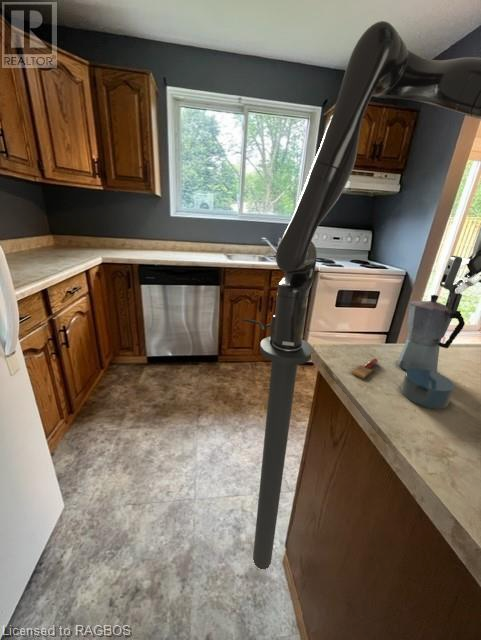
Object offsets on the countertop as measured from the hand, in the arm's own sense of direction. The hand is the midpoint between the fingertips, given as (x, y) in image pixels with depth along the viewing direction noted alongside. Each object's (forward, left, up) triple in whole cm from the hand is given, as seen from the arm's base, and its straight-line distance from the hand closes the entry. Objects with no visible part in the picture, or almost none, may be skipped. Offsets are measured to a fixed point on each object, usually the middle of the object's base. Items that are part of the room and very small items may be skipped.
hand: (477, 314), depth 51 cm
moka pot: (-8, +12, -21) cm, 25 cm away
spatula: (-17, +1, -20) cm, 27 cm away
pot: (-4, -1, -20) cm, 21 cm away
